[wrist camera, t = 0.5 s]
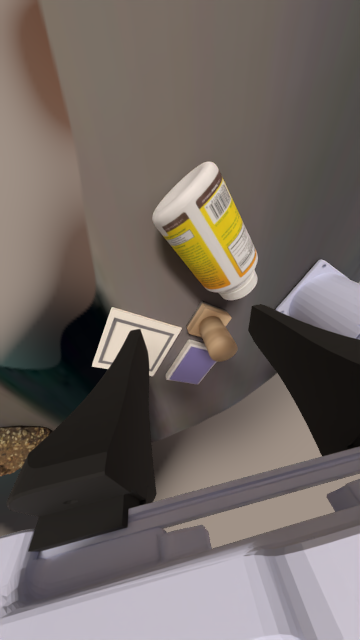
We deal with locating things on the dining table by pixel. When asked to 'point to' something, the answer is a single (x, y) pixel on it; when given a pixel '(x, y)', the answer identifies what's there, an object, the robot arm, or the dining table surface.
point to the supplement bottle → (209, 232)
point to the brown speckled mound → (18, 445)
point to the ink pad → (191, 363)
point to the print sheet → (117, 331)
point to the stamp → (213, 331)
